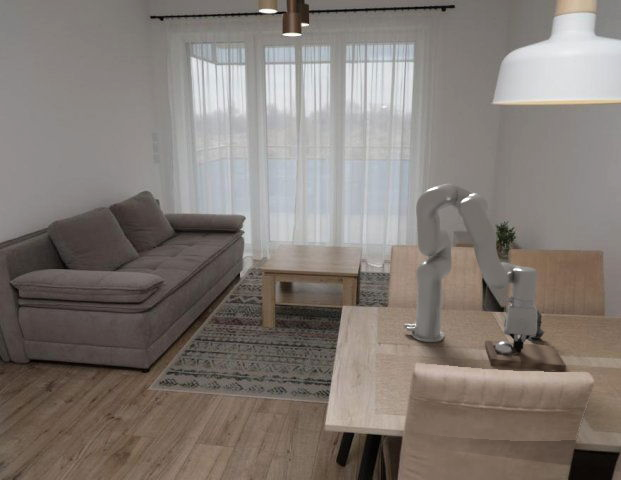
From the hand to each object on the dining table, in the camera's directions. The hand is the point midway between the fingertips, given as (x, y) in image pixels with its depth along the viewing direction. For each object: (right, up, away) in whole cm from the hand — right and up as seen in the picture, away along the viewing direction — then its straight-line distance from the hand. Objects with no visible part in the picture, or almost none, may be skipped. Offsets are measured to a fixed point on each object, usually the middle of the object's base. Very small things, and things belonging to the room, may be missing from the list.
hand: (517, 350), depth 175 cm
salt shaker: (+13, 0, +16) cm, 21 cm away
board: (+2, -3, 0) cm, 4 cm away
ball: (-5, 0, +1) cm, 5 cm away
